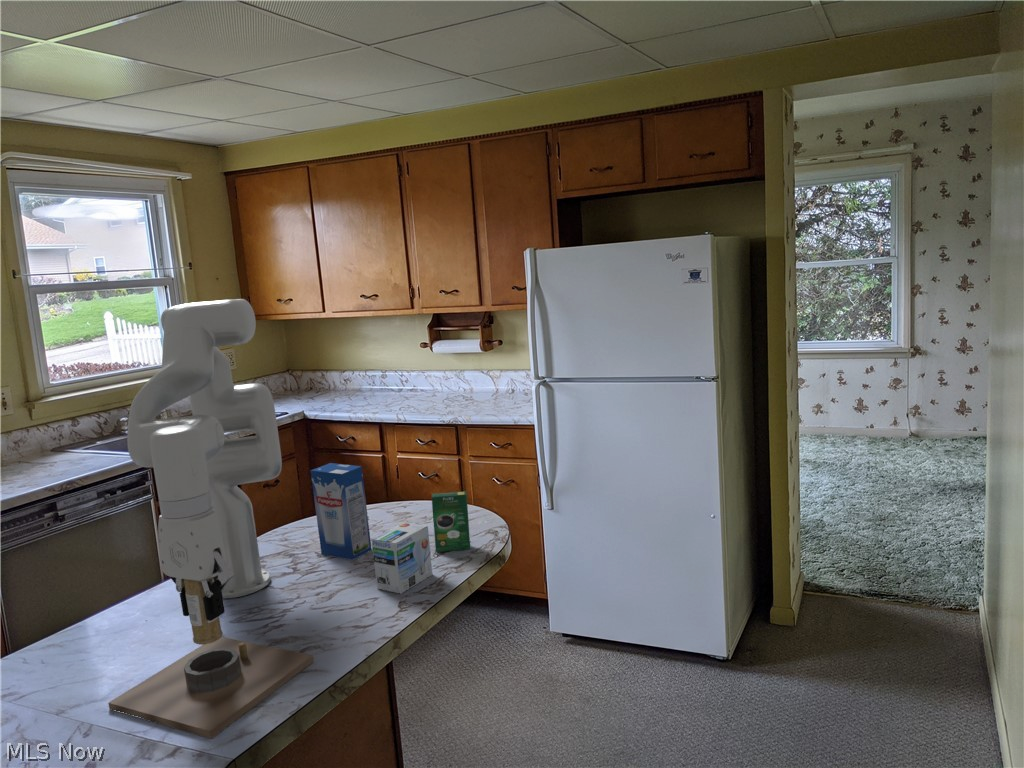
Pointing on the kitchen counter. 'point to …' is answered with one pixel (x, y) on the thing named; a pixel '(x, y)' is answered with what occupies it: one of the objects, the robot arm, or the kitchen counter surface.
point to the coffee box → (451, 521)
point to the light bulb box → (402, 557)
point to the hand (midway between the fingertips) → (204, 613)
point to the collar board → (211, 704)
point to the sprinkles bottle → (200, 614)
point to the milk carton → (341, 510)
